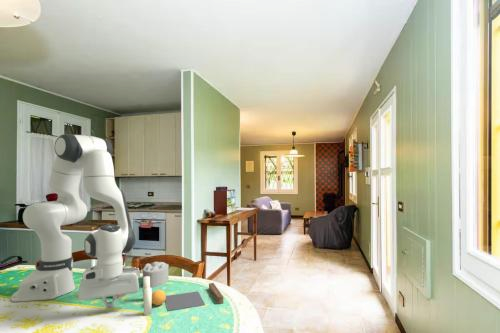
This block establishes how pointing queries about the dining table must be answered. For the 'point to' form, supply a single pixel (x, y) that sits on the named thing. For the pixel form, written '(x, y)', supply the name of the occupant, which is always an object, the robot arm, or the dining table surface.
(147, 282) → the post
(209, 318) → the dining table surface
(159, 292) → the ball
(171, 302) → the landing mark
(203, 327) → the dining table surface
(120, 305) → the dining table surface
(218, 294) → the wall
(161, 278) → the lumpy-topped squat cylinder
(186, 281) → the dining table surface
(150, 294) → the post
